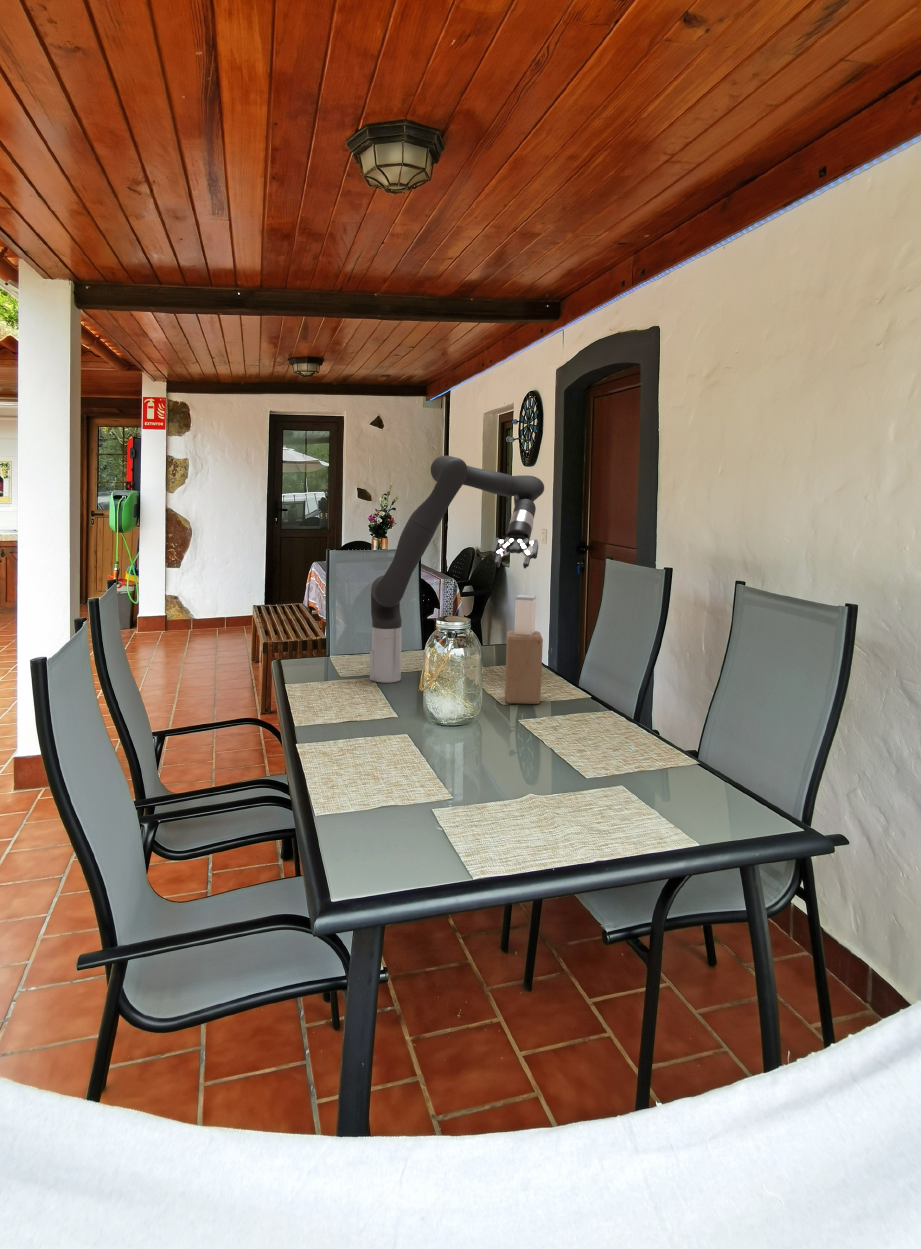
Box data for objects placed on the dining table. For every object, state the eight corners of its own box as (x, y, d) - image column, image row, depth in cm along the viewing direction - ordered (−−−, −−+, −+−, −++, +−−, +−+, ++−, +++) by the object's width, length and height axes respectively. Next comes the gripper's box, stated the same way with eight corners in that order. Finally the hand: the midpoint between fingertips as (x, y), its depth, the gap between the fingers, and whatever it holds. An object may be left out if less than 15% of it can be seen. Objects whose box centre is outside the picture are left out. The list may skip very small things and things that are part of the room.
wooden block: (540, 705, 234) (543, 636, 231) (505, 704, 234) (507, 635, 231) (538, 696, 244) (540, 630, 241) (504, 695, 244) (506, 629, 241)
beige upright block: (514, 634, 234) (515, 596, 232) (517, 631, 239) (519, 594, 237) (531, 635, 233) (533, 597, 231) (534, 632, 238) (536, 595, 236)
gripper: (497, 518, 260) (487, 556, 251) (541, 520, 256) (532, 559, 247) (500, 534, 266) (490, 572, 257) (543, 536, 262) (535, 575, 253)
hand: (511, 566), depth 252 cm, fingers open, 8 cm apart
